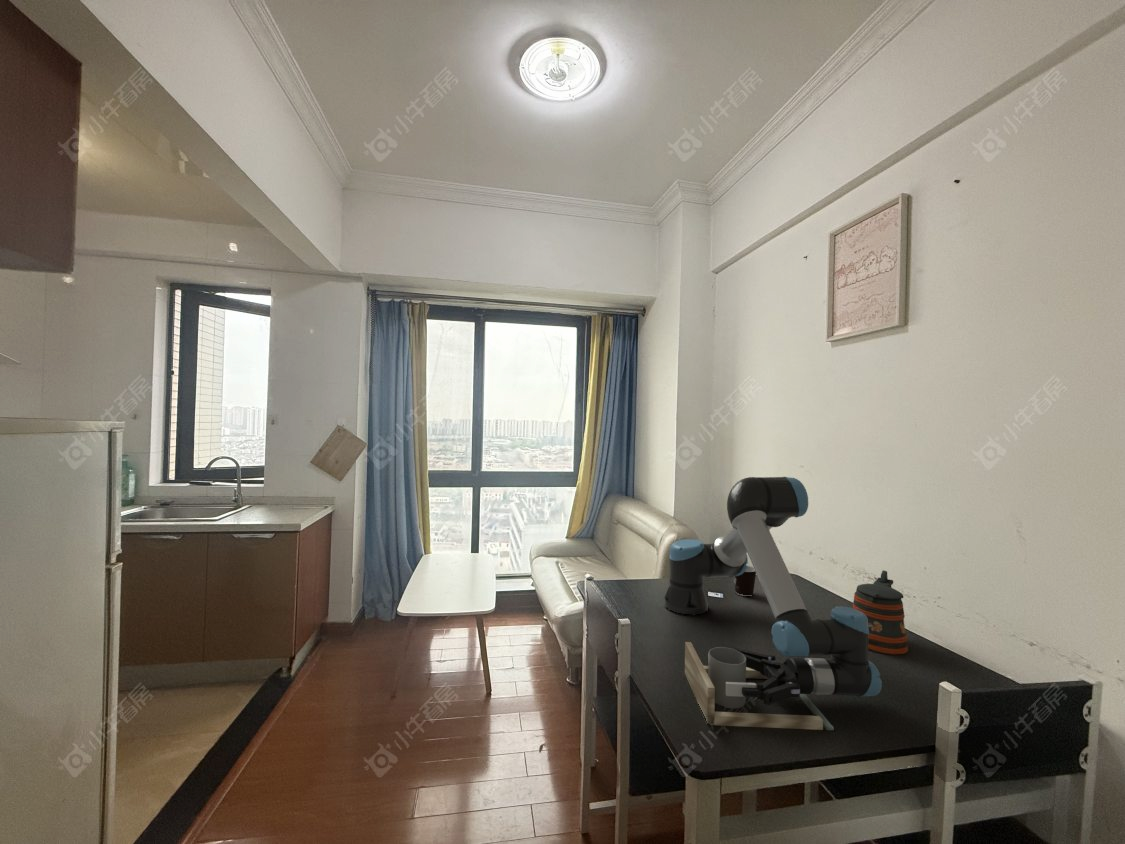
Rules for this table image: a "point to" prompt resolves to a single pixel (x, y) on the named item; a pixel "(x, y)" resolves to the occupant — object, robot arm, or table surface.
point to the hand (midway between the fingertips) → (716, 672)
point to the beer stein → (883, 615)
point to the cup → (726, 674)
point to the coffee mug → (745, 581)
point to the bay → (706, 701)
